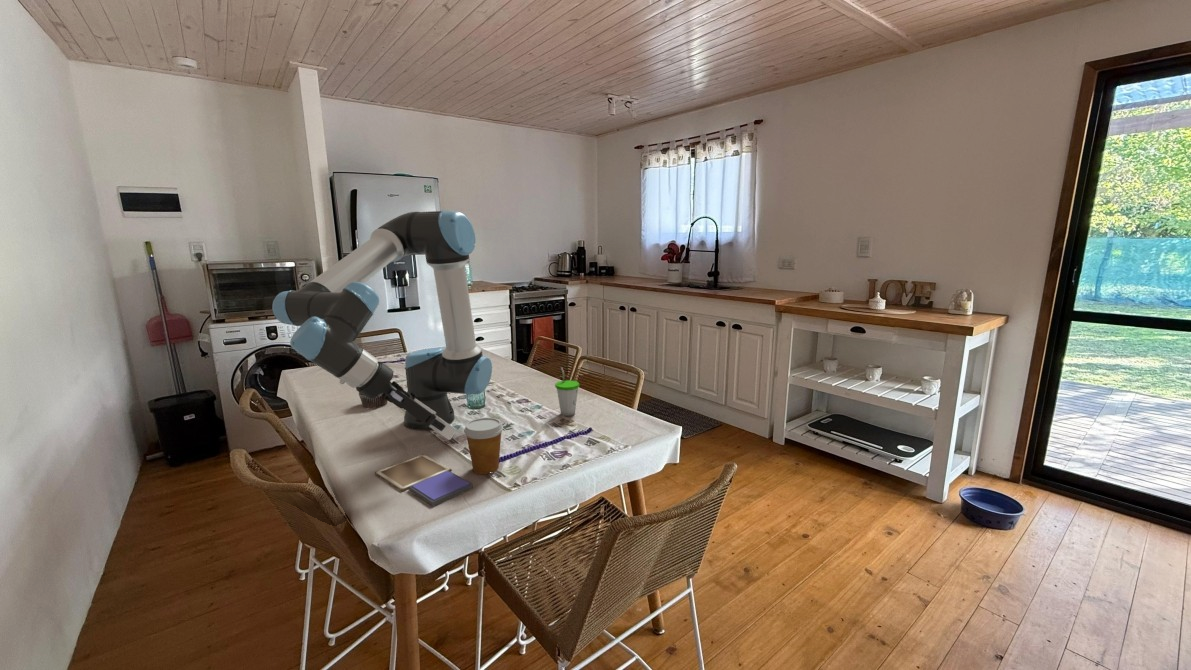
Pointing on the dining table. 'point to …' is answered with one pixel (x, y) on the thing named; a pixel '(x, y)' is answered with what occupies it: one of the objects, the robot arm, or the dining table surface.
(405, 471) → the brown square tray
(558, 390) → the cup
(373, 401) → the cupcake
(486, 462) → the disposable coffee cup
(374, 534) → the dining table surface
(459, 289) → the robot arm
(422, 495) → the ink pad
